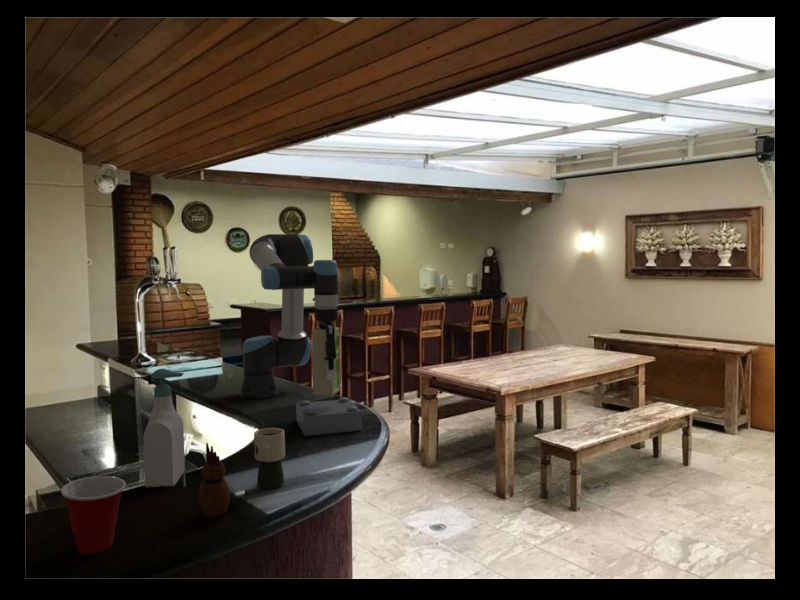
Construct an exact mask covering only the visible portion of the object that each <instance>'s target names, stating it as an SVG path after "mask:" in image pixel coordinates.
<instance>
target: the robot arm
mask: <svg viewBox="0 0 800 600" xmlns="http://www.w3.org/2000/svg"><path fill="white" fill-rule="evenodd" d="M249 257H250V260H251V261H252V262H253V264H255V265H256V266H258V267H259V269H260V270H261V272H260V283H261V287H262V288H263V289H264V290H269V291H270V290H272V291H276V290H279V291H280V290H281V330H280V331H279V332H278V333H277V338H274V337H273V336H272V335H258V336H253V337H250V338H247V339H245V340H244V341H243V343H242V364H243V365H242V370H243V377H242V380H241V383H240V384H241V385H240V388H239V392H238V393H239V395H238V396H239V397H240V398H243V399H250V400H251V399H252V400H253V399H258V400H259V399H266V398H267V399H268V398H272V397H275V396H278V394H279V388H278V386H277V385H278V384H277V382H276V379H275V376H274V369H275V368H277V369H278V368H288V367H296V368H297V367H299V366H305V365H307V364H308V362H309V360H310V357H311V353H312V346H311V345H312V341H311V338H310V337H309V336H307V335H308V334H307V332H305V331H304V303H305V302H304V299H305V290H308V289H309V290H311V289H313V291H314V292H313V294H314V295H313V296H314V297H312V301H313V302H314V307H315V308H314V320H315V321H317V322H319V324H318V328H319V327H320V328H321V329H325V330H326V338H327V342H326V341H325V343H326V356H327V357H325V360H326V380H335V358H336V347H335V328H334V327H335V326H333V321H338V320H339V309H338V307H339V294H338V291H339V289H338V272H339V270H338V262H337V261H336V260H335V259H315V260H314V250H313V244H312V241H311V239H310V237H309V236H308V235H306V234H300V233H299V234H298V233H291V234H290V233H286V234H285V233H281V234H280V233H278V234H277V233H276V234H274V233H269V234H265V235H262V236H260V237H257V238H256V239H255V240H254V241H253V242H252V244H251V245H250V247H249ZM312 264H313V265H312ZM330 354H331V355H330Z"/></svg>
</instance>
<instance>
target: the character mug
mask: <svg viewBox="0 0 800 600" xmlns="http://www.w3.org/2000/svg"><path fill="white" fill-rule="evenodd" d="M285 435H286V434H285V430H284V429H283V428H280V427H279V428H278V427H269V428H267V427H266V428H263V429H262V428H261V429H257V430H256V431H254V432H253V442H254V444H253V445H254V446H253V448H254V450H253V451H254V452H253V453H254V459H255V460H256V461H258V462H259V464H258V469H257V470H258V471H257V479H256V486H258V487H259V488H263V489H264V488H269V489H271V488H272V487H278V486H282V485H284V483H285V477H284V469H283V465H282V461H281V460H283V459H285V457H286V441H285V440H286V439H285V438H286V436H285Z"/></svg>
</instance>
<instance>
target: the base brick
mask: <svg viewBox="0 0 800 600" xmlns="http://www.w3.org/2000/svg"><path fill="white" fill-rule="evenodd" d="M295 405H296V408H295V409H296V410H295V411H296V422H297V424H298V427H299V428H300V430H301V432H302V433H303V435H304V437H309V436H317V435H327V434H328V435H329V434H337V433H338V434H339V433H347V432H358V431H359V430H360V431H363V418H362V417H363V416H362V415H363V412H362V410H361V409H360V408H359V407H358V406H357V405H355V403H354V402H353V401H351V399H349V398H348V397H345V396H344V397H339V398H338V399H335V400H332V399H331V400H324V401H322V400H321V401H310V400H300V401H299V402H297V403H295Z"/></svg>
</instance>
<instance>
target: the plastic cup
mask: <svg viewBox="0 0 800 600" xmlns="http://www.w3.org/2000/svg"><path fill="white" fill-rule="evenodd" d="M126 485H127V483H126V481H125V480H124V479H121V478H120V477H116V476H114V477H113V476H107V475H105V476H104V475H103V476H89V477H82V478H79V479H75V480H72V481H70V482H68V483H66V484H64V485H63V486H62V487H61V489H60V492H61V495H62V497H63V498H64V502H65V506H66V508H67V512H68V516H69V517H68V518H69V521H70V524H71V525H70V526H71V530H72V534H73V536H74V539H75V544H76V547H77V548H76V549H77V551H78V552H79V554H82V555H94V554H95V555H96V554H98V553H101V552H104V551H106V550H108V549H109V548H111V547H112V545H113V542H114V538H115V530H116V525H117V520H118V513H119V506H120V500H121V498H122V493H123V491H124V489H125V488H126Z"/></svg>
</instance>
